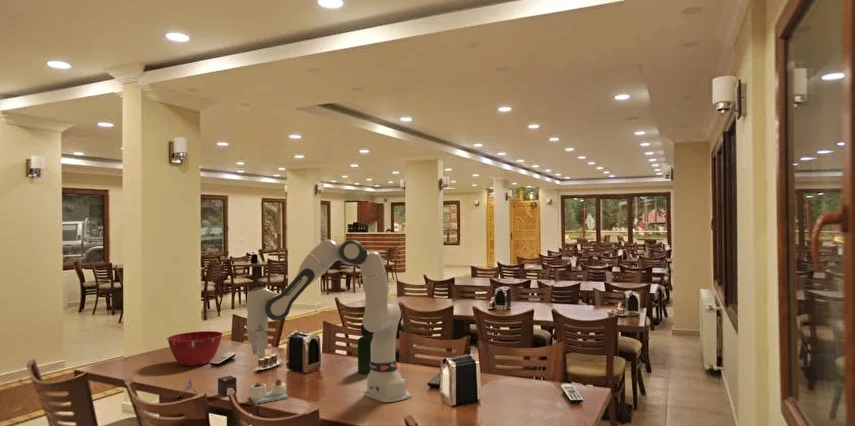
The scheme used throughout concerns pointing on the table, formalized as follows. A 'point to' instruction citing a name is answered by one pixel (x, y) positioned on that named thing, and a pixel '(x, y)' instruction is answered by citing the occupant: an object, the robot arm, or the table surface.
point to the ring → (258, 392)
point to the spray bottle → (364, 351)
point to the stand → (273, 392)
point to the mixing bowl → (195, 347)
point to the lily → (188, 385)
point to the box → (226, 384)
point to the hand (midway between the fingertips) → (258, 356)
